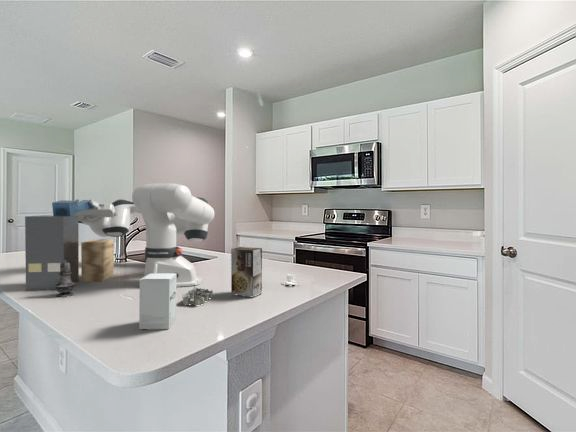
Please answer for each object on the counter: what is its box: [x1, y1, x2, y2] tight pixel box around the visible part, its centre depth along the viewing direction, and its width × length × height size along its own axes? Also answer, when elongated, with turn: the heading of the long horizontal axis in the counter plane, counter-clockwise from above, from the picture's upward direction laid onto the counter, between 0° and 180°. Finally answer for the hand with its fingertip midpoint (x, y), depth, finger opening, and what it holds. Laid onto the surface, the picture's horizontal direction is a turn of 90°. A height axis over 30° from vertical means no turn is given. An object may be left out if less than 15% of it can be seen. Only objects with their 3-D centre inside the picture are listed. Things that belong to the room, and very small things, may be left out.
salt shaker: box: [55, 260, 77, 298], centre depth 110 cm, size 6×6×12 cm
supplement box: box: [138, 273, 177, 330], centre depth 84 cm, size 7×7×13 cm
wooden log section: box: [80, 238, 115, 283], centre depth 135 cm, size 8×12×16 cm, turn 11°
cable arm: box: [51, 199, 93, 216], centre depth 135 cm, size 6×22×5 cm, turn 7°
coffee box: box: [230, 246, 263, 297], centre depth 114 cm, size 9×6×16 cm
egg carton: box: [181, 286, 213, 306], centre depth 105 cm, size 10×7×4 cm
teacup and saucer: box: [285, 273, 296, 285], centre depth 130 cm, size 9×8×4 cm
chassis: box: [24, 214, 80, 292], centre depth 121 cm, size 12×12×26 cm
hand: (83, 200), depth 141 cm, fingers closed on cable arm, 4 cm apart
